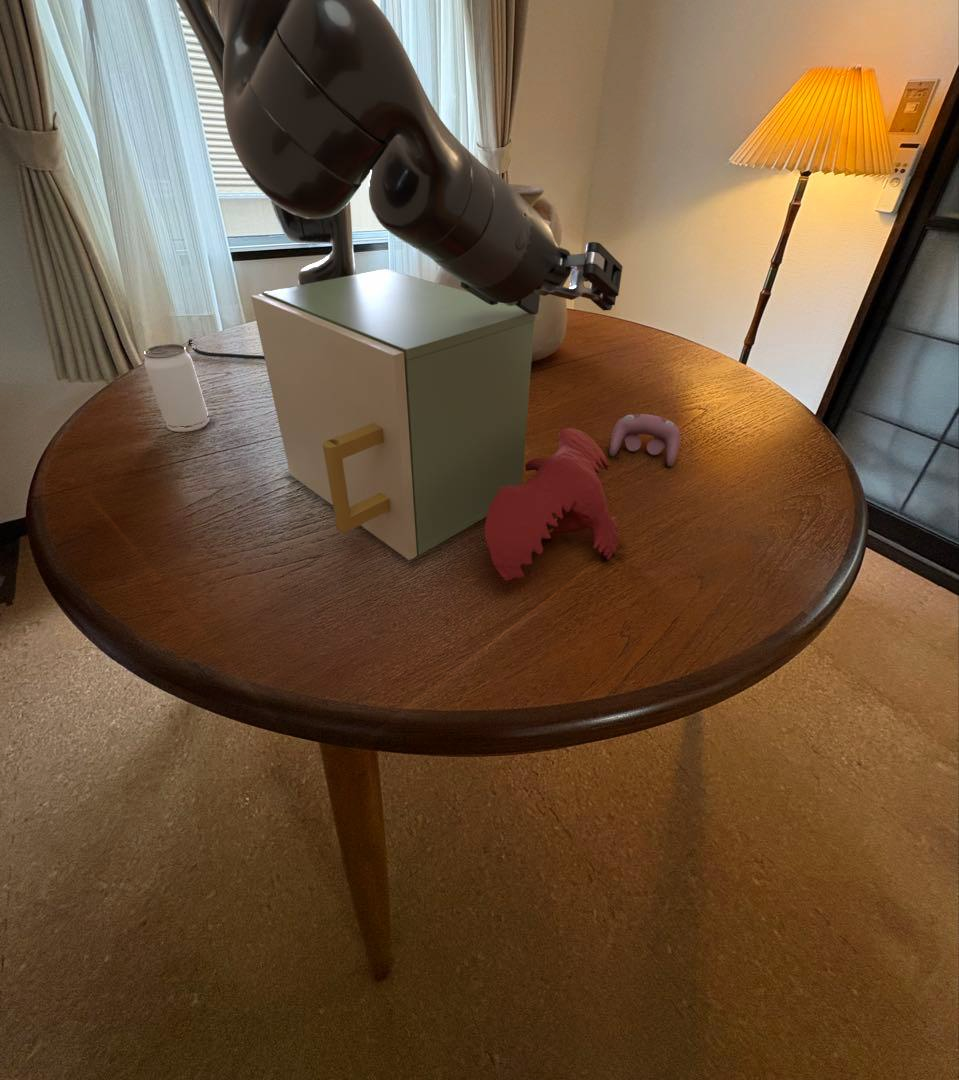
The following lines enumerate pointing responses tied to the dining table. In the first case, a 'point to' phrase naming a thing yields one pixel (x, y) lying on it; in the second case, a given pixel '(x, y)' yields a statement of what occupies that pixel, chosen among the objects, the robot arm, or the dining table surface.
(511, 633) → the dining table surface
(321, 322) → the door
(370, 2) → the robot arm
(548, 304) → the jug
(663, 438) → the video game controller
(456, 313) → the cupboard
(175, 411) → the can
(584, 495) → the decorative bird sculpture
